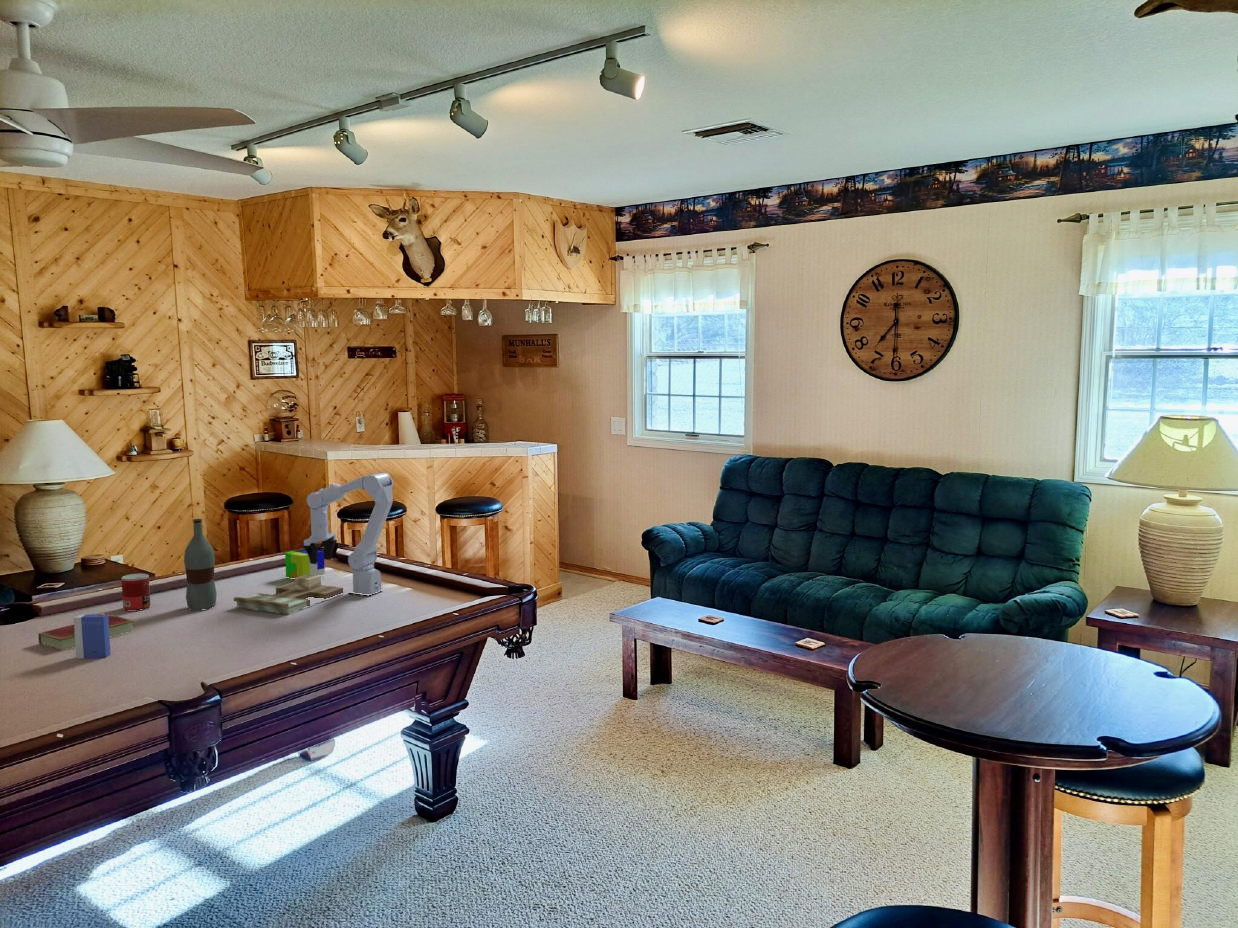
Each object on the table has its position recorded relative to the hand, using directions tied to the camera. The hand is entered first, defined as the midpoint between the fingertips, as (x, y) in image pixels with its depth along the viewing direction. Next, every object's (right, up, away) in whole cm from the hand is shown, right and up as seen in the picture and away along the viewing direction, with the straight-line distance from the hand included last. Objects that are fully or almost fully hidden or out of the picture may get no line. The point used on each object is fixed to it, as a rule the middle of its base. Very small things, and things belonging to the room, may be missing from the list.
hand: (321, 561), depth 308 cm
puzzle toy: (-13, -9, +19) cm, 24 cm away
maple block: (-2, -9, -7) cm, 11 cm away
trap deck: (-5, -12, -15) cm, 20 cm away
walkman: (-38, -18, -72) cm, 83 cm away
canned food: (-53, -13, -25) cm, 60 cm away
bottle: (-32, -13, -23) cm, 41 cm away
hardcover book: (-50, -17, -55) cm, 77 cm away
